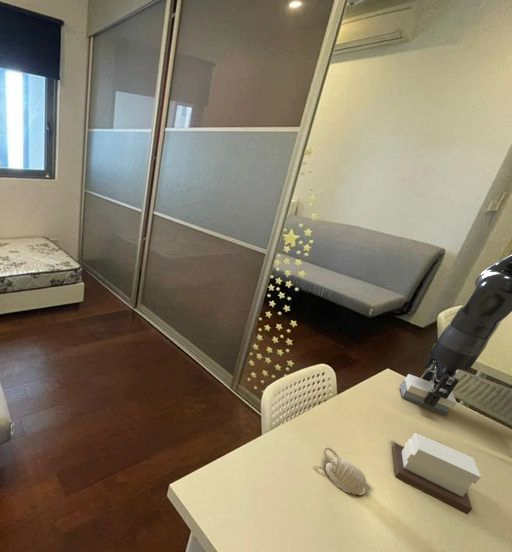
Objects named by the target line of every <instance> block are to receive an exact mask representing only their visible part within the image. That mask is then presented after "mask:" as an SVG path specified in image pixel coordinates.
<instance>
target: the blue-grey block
mask: <svg viewBox="0 0 512 552" xmlns="http://www.w3.org/2000/svg"><path fill="white" fill-rule="evenodd" d="M399 387H400V395H401V399H404V400H406V401H408V402H410V403H413V404H415V405H418V406H421V407H423V408H425V409H428V410H431V411H433V412H435V413H438V414H440V415H443V416H446V417H447V415H448V414H449V412H448V411H449V410H450V409H451V408H450V407H447V406H445V405H442V404H439V403H437V404H436V405H435V406H434V407H432V406H430V405H427V404H425V403H424V401H423V400H424V397H422V396H419V395H417V394H414V393H411V392H409V391H407V386H406V381H405V379H402V381H401V383H400V385H399Z"/></svg>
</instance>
